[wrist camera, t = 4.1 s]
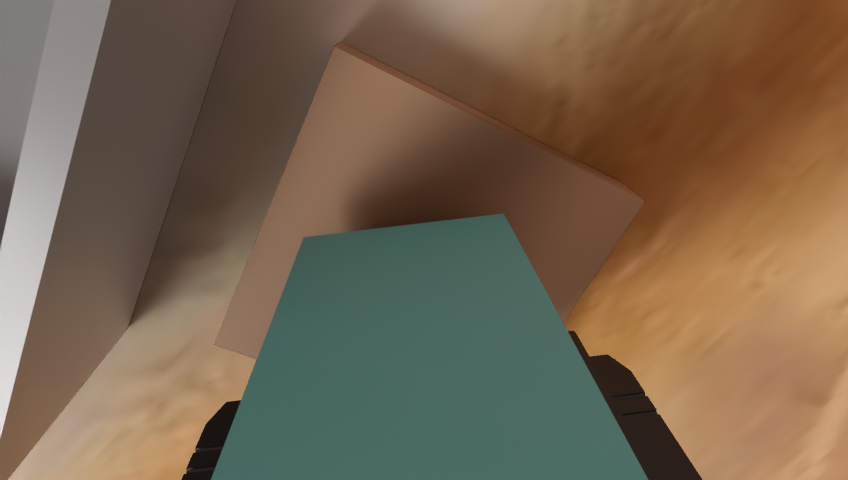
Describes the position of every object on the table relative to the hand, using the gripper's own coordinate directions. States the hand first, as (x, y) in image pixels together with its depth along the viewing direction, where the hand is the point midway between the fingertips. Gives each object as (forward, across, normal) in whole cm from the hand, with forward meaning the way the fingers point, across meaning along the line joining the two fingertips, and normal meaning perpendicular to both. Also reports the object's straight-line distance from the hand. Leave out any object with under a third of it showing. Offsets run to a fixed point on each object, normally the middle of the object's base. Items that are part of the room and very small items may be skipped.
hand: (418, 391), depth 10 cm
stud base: (+5, 0, 0) cm, 5 cm away
